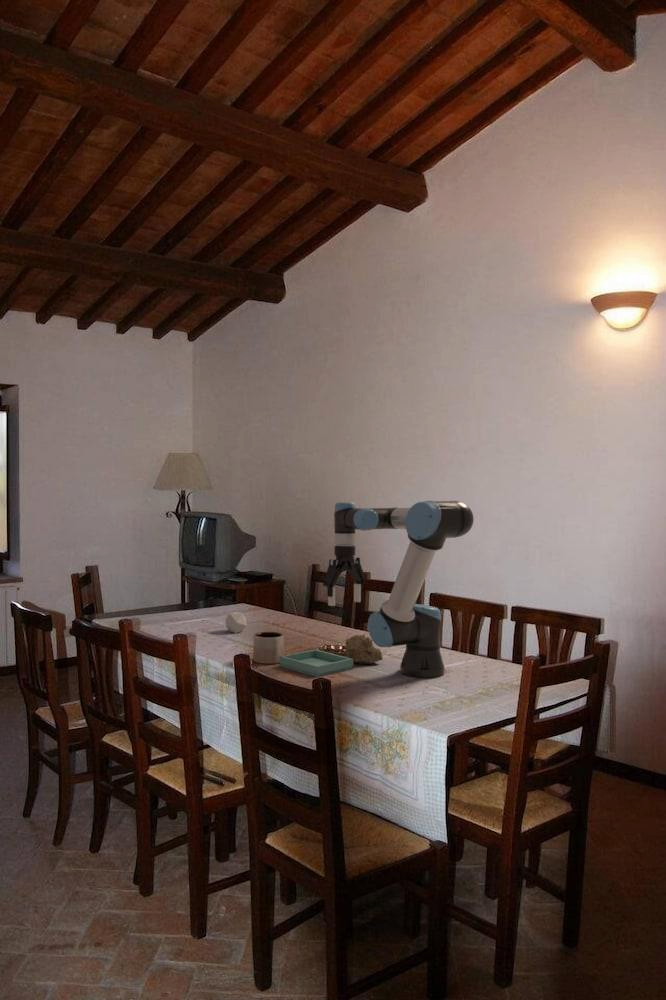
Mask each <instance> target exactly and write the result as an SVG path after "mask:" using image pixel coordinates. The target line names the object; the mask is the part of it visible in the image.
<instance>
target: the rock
mask: <svg viewBox="0 0 666 1000" xmlns="http://www.w3.org/2000/svg"><path fill="white" fill-rule="evenodd" d="M345 646H346V651H345V655H346V657H347V658H351V659H353V664H358V665H359V664H360V665H364V664H365V665H366V664H373V663H376V662H380V661H383V659H384V658H383V654H382V651H381V650H380V648H377V647H376V646H374V642H373V641H372V639H371V637H369V636H366V635H365V634H355V635H353V636H350V638H346V640H345Z"/></svg>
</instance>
